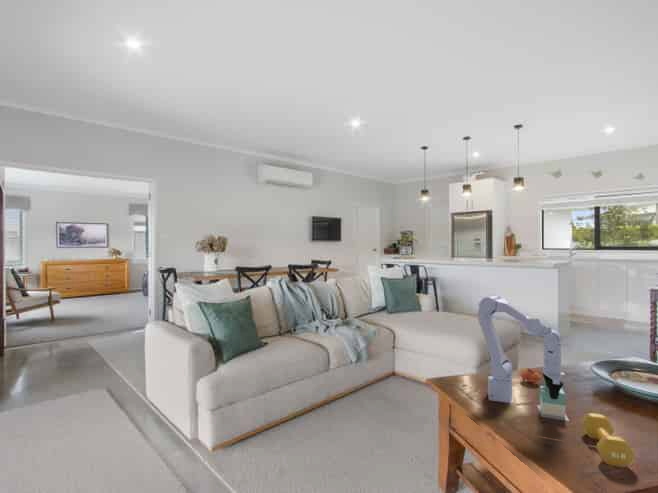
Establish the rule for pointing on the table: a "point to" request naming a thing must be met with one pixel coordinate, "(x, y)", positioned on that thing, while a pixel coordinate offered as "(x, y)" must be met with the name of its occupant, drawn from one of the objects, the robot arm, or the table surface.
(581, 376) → the table surface
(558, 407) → the brick cream
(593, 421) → the dumbbell
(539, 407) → the build board
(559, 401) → the brick teal
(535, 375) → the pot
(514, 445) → the table surface
